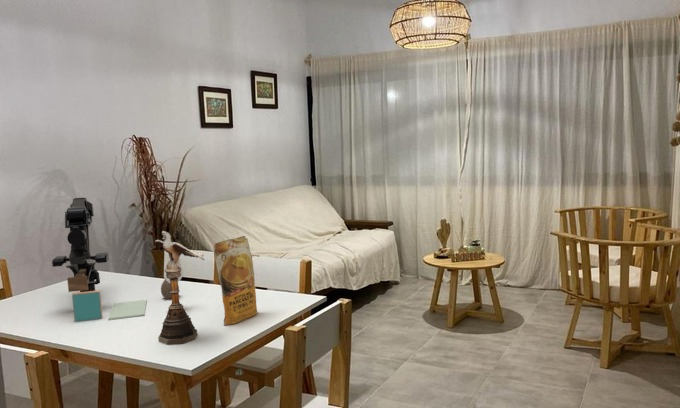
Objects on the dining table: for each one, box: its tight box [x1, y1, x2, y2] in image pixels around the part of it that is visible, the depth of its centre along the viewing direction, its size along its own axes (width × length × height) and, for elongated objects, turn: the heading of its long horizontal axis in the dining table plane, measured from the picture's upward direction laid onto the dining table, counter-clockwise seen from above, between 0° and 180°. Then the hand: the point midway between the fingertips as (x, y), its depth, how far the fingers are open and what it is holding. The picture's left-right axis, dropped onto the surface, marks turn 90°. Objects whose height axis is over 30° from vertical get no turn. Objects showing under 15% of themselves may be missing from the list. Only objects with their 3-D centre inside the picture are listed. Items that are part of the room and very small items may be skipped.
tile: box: [71, 289, 104, 323], centre depth 198 cm, size 2×9×10 cm, turn 107°
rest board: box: [108, 299, 148, 321], centre depth 208 cm, size 20×12×1 cm, turn 17°
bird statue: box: [154, 230, 205, 346], centre depth 176 cm, size 17×13×35 cm
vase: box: [160, 278, 180, 300], centre depth 222 cm, size 7×7×9 cm
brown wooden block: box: [66, 269, 89, 293], centre depth 207 cm, size 13×6×5 cm, turn 14°
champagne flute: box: [163, 249, 186, 313], centre depth 205 cm, size 7×7×24 cm
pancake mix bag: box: [213, 235, 258, 326], centre depth 191 cm, size 7×19×28 cm, turn 146°
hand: (83, 281), depth 209 cm, fingers closed on brown wooden block, 3 cm apart
